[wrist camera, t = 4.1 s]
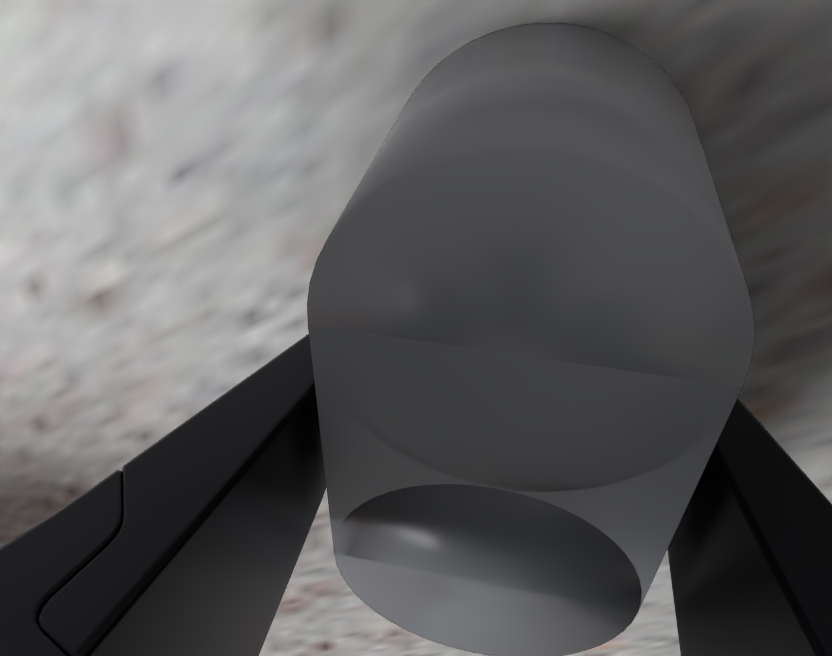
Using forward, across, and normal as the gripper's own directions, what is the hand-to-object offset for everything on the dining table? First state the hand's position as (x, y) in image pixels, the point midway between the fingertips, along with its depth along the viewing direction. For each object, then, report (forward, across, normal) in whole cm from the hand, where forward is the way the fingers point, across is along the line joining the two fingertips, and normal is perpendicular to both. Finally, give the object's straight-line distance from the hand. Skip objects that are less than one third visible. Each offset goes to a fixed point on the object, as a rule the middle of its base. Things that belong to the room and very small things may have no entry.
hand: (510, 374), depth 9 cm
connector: (+2, 0, 0) cm, 2 cm away
